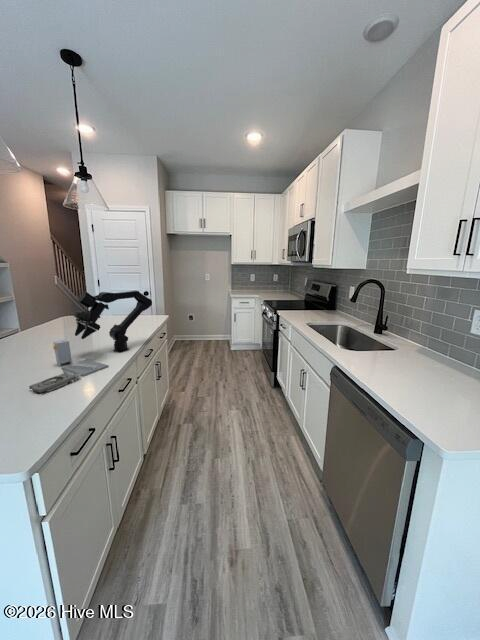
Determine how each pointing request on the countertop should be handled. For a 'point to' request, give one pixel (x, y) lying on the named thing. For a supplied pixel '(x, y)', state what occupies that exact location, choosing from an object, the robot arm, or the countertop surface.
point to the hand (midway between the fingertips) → (78, 337)
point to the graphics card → (56, 382)
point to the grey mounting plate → (85, 367)
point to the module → (62, 351)
